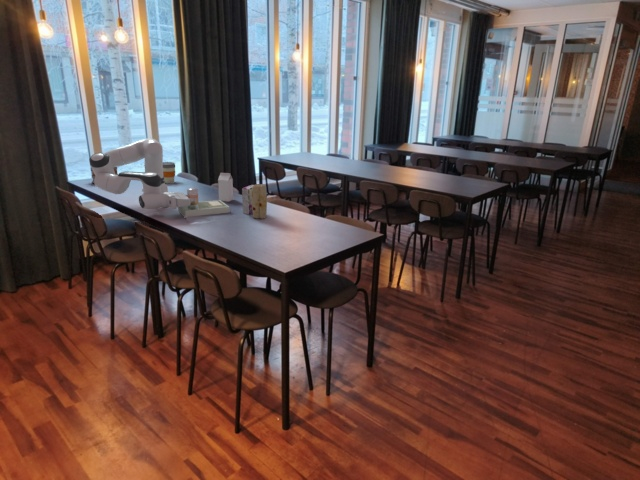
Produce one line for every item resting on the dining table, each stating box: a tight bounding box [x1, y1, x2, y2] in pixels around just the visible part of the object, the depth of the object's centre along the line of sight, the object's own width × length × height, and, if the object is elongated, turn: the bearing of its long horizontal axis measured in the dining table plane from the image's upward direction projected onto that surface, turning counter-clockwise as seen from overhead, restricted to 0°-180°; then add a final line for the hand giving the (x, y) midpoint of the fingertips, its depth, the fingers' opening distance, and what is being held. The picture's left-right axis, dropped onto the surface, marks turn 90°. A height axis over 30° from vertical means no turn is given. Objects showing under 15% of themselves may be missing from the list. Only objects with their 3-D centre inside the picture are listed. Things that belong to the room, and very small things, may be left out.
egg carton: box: [208, 200, 223, 208], centre depth 257 cm, size 10×6×4 cm, turn 30°
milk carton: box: [217, 172, 234, 203], centre depth 280 cm, size 7×7×19 cm
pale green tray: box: [177, 199, 231, 220], centre depth 254 cm, size 18×26×4 cm
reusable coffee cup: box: [163, 161, 176, 184], centre depth 331 cm, size 13×13×15 cm
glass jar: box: [186, 187, 200, 210], centre depth 249 cm, size 6×6×12 cm
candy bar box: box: [241, 184, 255, 215], centre depth 254 cm, size 11×5×16 cm, turn 160°
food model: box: [252, 183, 268, 220], centre depth 245 cm, size 10×7×20 cm
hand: (194, 197), depth 249 cm, fingers closed on glass jar, 6 cm apart
